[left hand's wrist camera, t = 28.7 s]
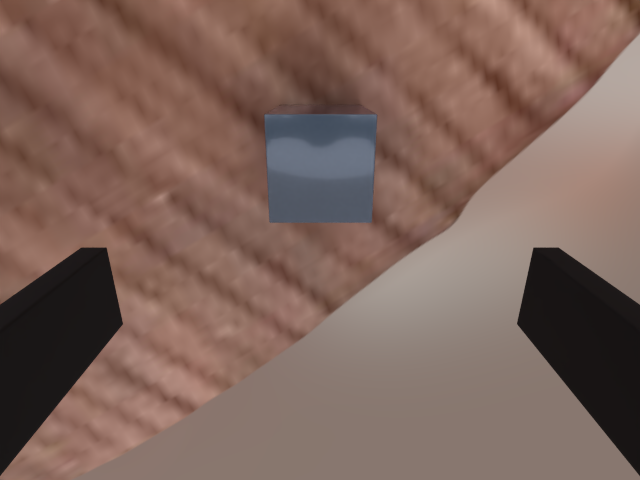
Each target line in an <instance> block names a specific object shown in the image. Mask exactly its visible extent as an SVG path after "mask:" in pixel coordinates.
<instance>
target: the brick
mask: <svg viewBox="0 0 640 480" xmlns="http://www.w3.org/2000/svg"><path fill="white" fill-rule="evenodd" d="M264 120H265V140H266V160H267V180H268V200H269V220H270V223H371V222H372V207H373V187H374V167H375V148H376V128H377V114H375V113H374V112H372V111H370V110H369V109H367V108H365V107H364V106H362V105H279V106H277V107H276V108H274V109H273V110H271V111H269V112H268V113H266V114H265V115H264Z"/></svg>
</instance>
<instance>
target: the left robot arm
mask: <svg viewBox="0 0 640 480" xmlns="http://www.w3.org/2000/svg"><path fill="white" fill-rule="evenodd" d="M122 324H123V322H122V317H121V313H120V308H119V303H118V299H117V294H116V290H115V285H114V280H113V276H112V271H111V266H110V262H109V257H108V252H107V248H80V249H79V250H78V251H76V252H75V253H73V254H72V255H70V256H69V257H68V258H66V259H65V260H63V261H62V262H60V263H59V264H58V265H56V266H55V267H53V268H52V269H50V270H49V271H48V272H46V273H45V274H43V275H42V276H41V277H39V278H38V279H36V280H35V281H33V282H32V283H31V284H29V285H28V286H26V287H25V288H23V289H22V290H21V291H19V292H18V293H16V294H15V295H13V296H12V297H11V298H9V299H8V300H6V301H5V302H4V303H2V304H1V305H0V475H1V474H2V473H3V472H4V470H5V469H6V468H7V467H8V465H9V464H10V463H11V462H12V461H13V459H14V458H15V457H16V456H17V454H18V453H19V452H20V451H21V449H22V448H23V447H24V446H25V444H26V443H27V442H28V441H29V440H30V438H31V437H32V436H33V435H34V433H35V432H36V431H37V430H38V428H39V427H40V426H41V425H42V423H43V422H44V421H45V420H46V418H47V417H48V416H49V415H50V414H51V412H52V411H53V410H54V409H55V407H56V406H57V405H58V404H59V402H60V401H61V400H62V399H63V397H64V396H65V395H66V394H67V393H68V391H69V390H70V389H71V388H72V386H73V385H74V384H75V383H76V381H77V380H78V379H79V378H80V376H81V375H82V374H83V373H84V371H85V370H86V369H87V368H88V367H89V365H90V364H91V363H92V362H93V360H94V359H95V358H96V357H97V355H98V354H99V353H100V352H101V350H102V349H103V348H104V347H105V346H106V344H107V343H108V342H109V341H110V339H111V338H112V337H113V336H114V334H115V333H116V332H117V331H118V329H119V328H120V327H121V326H122ZM517 324H518V326H519V327H520V328H521V329H522V331H523V332H524V333H525V334H526V336H527V337H528V338H529V339H530V341H531V342H532V343H533V344H534V346H535V347H536V348H537V349H538V350H539V352H540V353H541V354H542V355H543V357H544V358H545V359H546V360H547V362H548V363H549V364H550V365H551V367H552V368H553V369H554V370H555V371H556V373H557V374H558V375H559V376H560V378H561V379H562V380H563V381H564V383H565V384H566V385H567V386H568V388H569V389H570V390H571V391H572V393H573V394H574V395H575V396H576V397H577V399H578V400H579V401H580V402H581V404H582V405H583V406H584V407H585V409H586V410H587V411H588V412H589V414H590V415H591V416H592V417H593V418H594V420H595V421H596V422H597V423H598V425H599V426H600V427H601V428H602V430H603V431H604V432H605V433H606V435H607V436H608V437H609V438H610V439H611V441H612V442H613V443H614V444H615V446H616V447H617V448H618V449H619V451H620V452H621V453H622V454H623V456H624V457H625V458H626V459H627V461H628V462H629V463H630V464H631V465H632V467H633V468H634V469H635V470H636V472H637V473H638V474H639V475H640V305H639V304H638V303H636V302H635V301H634V300H632V299H631V298H629V297H628V296H626V295H625V294H624V293H622V292H621V291H619V290H618V289H617V288H615V287H614V286H612V285H611V284H609V283H608V282H607V281H605V280H604V279H602V278H601V277H599V276H598V275H597V274H595V273H594V272H592V271H591V270H589V269H588V268H587V267H585V266H584V265H582V264H581V263H580V262H578V261H577V260H575V259H574V258H572V257H571V256H569V255H568V254H567V253H565V252H564V251H562V250H561V249H560V248H533V252H532V257H531V262H530V266H529V271H528V276H527V280H526V285H525V290H524V294H523V299H522V304H521V308H520V313H519V317H518V322H517Z"/></svg>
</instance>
